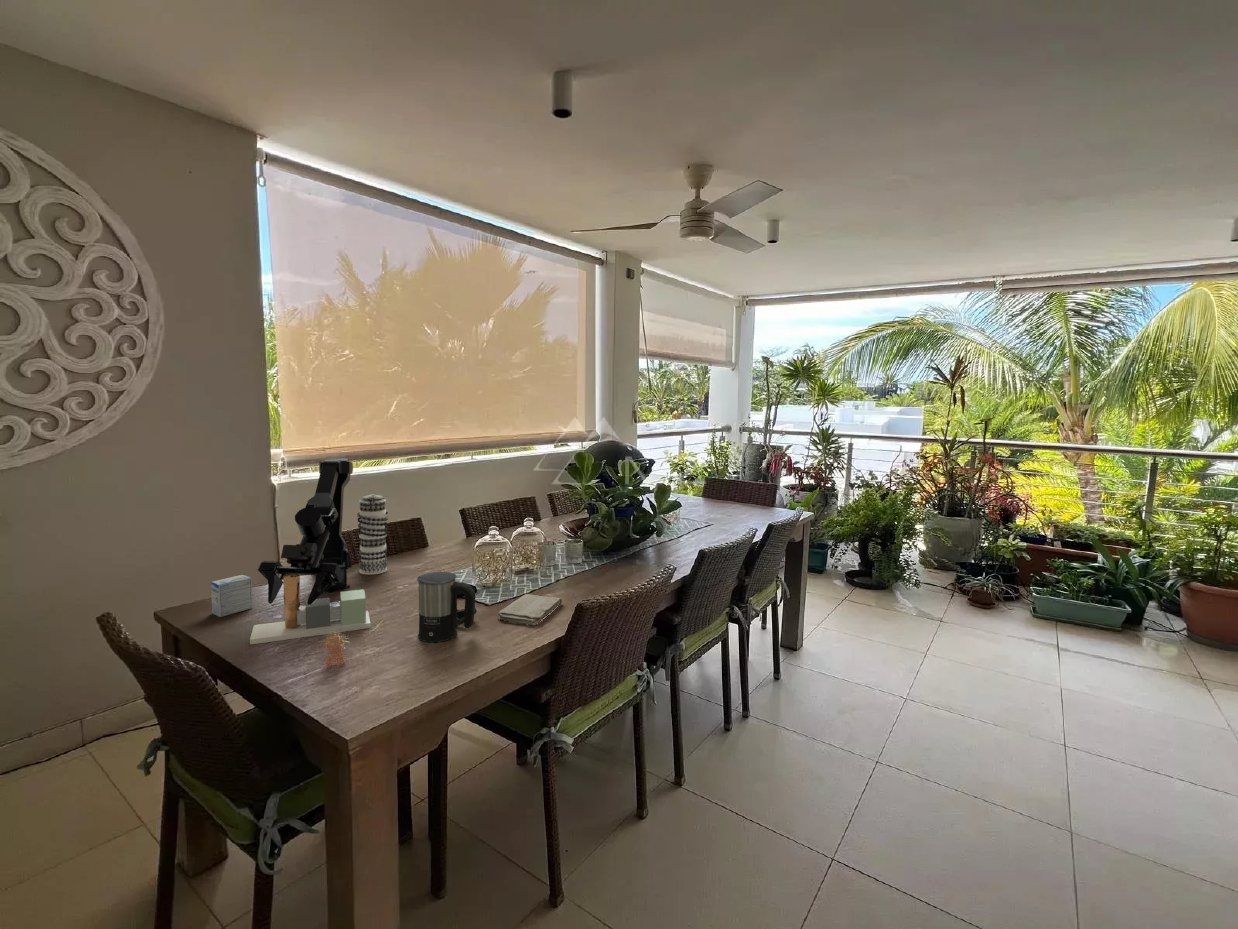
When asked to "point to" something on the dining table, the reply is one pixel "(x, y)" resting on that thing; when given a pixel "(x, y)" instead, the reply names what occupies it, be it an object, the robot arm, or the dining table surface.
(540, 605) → the washcloth
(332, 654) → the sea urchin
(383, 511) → the decorative candle
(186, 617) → the dining table surface
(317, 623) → the tube stand
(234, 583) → the medicine box
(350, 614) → the socket block
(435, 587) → the milk frother
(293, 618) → the tube
